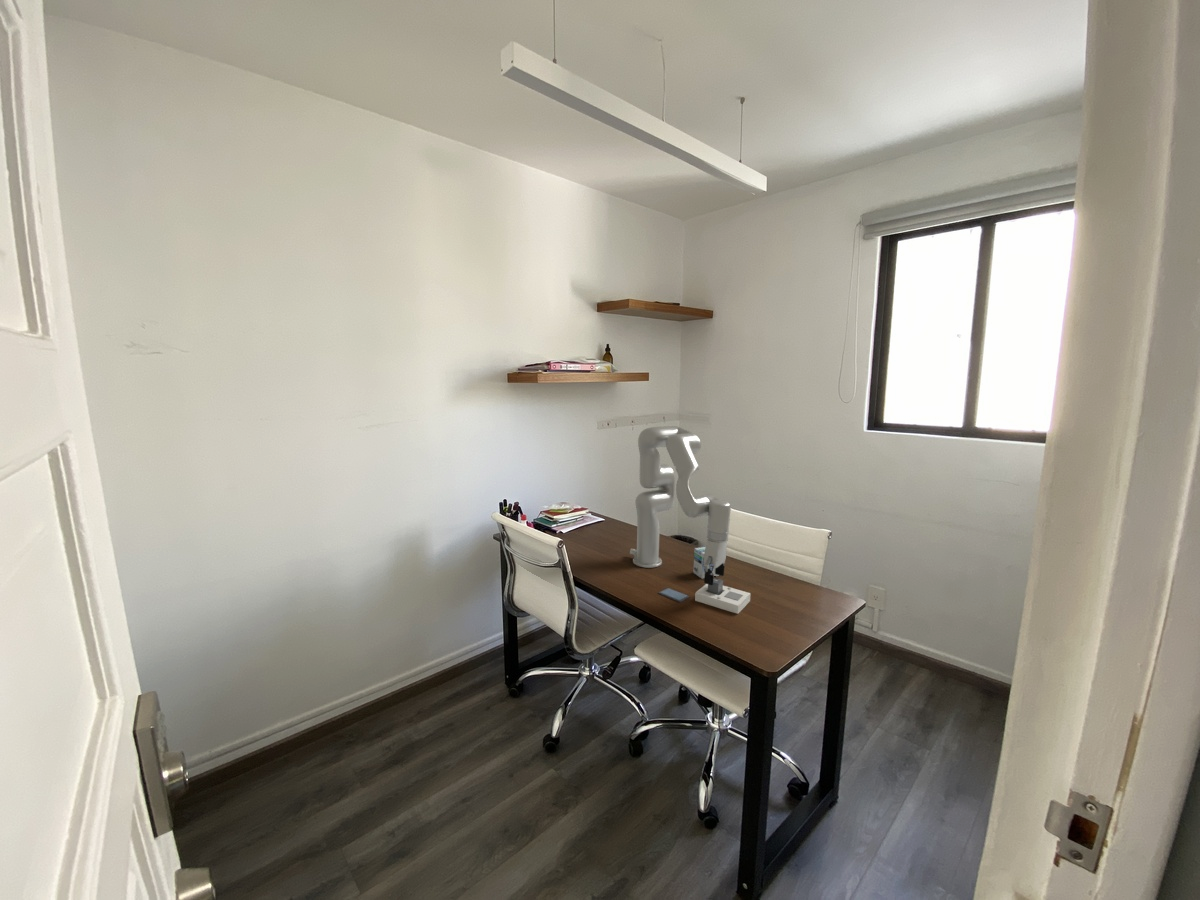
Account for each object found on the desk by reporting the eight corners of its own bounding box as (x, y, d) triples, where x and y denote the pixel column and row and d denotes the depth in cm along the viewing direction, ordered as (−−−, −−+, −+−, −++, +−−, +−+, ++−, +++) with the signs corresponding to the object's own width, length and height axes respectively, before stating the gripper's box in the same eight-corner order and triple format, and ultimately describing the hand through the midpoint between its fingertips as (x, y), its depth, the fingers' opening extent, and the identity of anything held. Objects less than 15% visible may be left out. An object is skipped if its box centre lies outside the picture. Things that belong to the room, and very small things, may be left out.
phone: (658, 595, 178) (658, 592, 178) (667, 590, 183) (667, 587, 182) (680, 604, 171) (680, 601, 171) (689, 598, 176) (689, 595, 175)
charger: (707, 598, 174) (708, 580, 173) (711, 595, 178) (712, 576, 177) (717, 602, 172) (718, 583, 171) (722, 598, 175) (723, 579, 174)
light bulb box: (701, 579, 191) (703, 553, 190) (692, 572, 197) (693, 547, 196) (723, 575, 195) (725, 550, 194) (714, 569, 201) (715, 544, 200)
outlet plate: (694, 600, 173) (695, 592, 172) (708, 588, 183) (709, 581, 182) (737, 613, 164) (738, 605, 163) (750, 601, 173) (750, 592, 173)
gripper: (717, 526, 180) (714, 568, 183) (697, 538, 167) (694, 584, 170) (736, 530, 176) (732, 574, 179) (717, 544, 162) (714, 591, 165)
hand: (714, 579), depth 174 cm, fingers open, 9 cm apart
